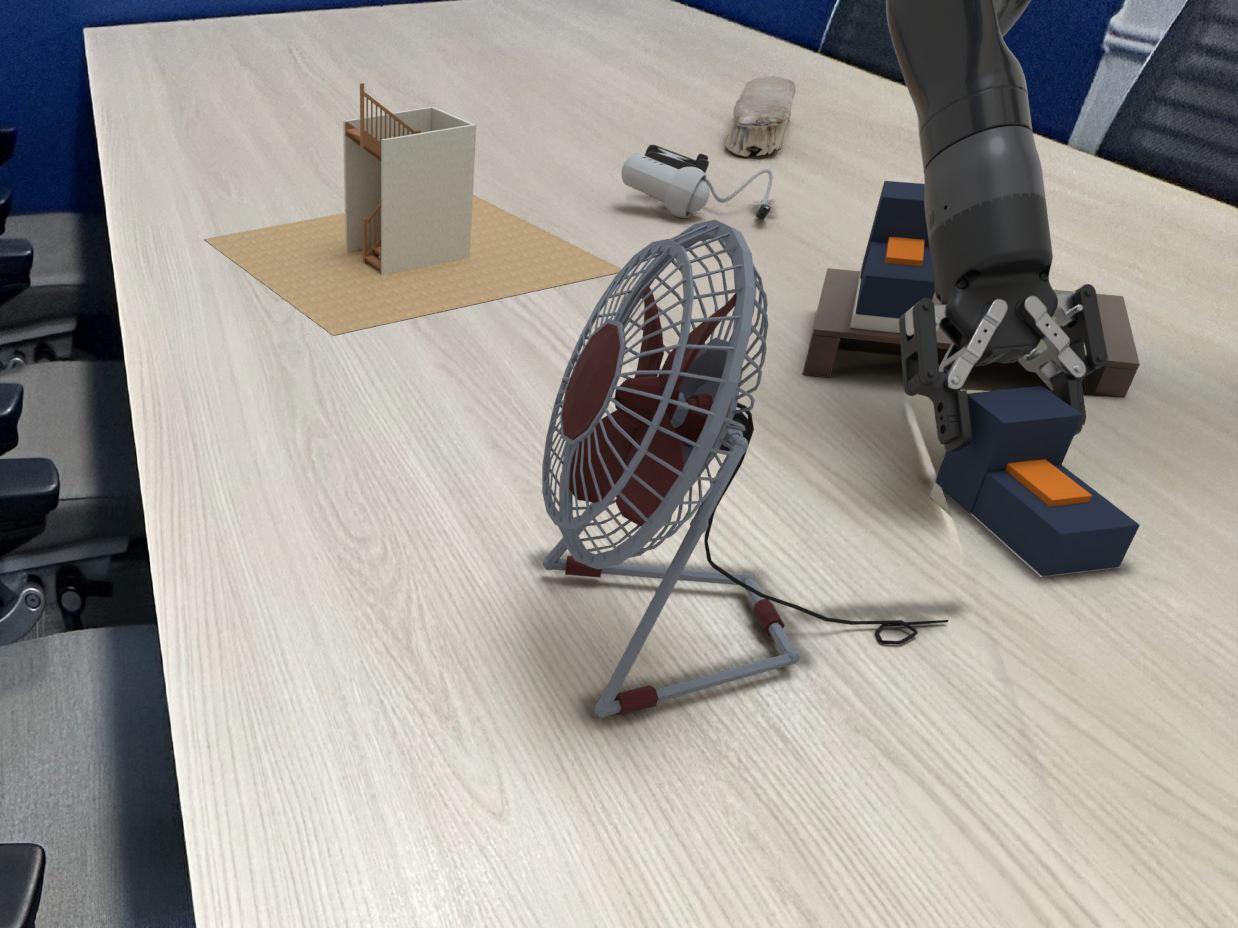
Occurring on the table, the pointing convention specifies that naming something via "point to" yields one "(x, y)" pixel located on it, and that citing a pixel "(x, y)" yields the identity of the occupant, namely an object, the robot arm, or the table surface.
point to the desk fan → (662, 442)
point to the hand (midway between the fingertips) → (1014, 442)
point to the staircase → (406, 232)
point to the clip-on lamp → (679, 180)
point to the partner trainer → (894, 260)
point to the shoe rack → (837, 324)
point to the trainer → (1033, 485)
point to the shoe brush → (761, 115)
